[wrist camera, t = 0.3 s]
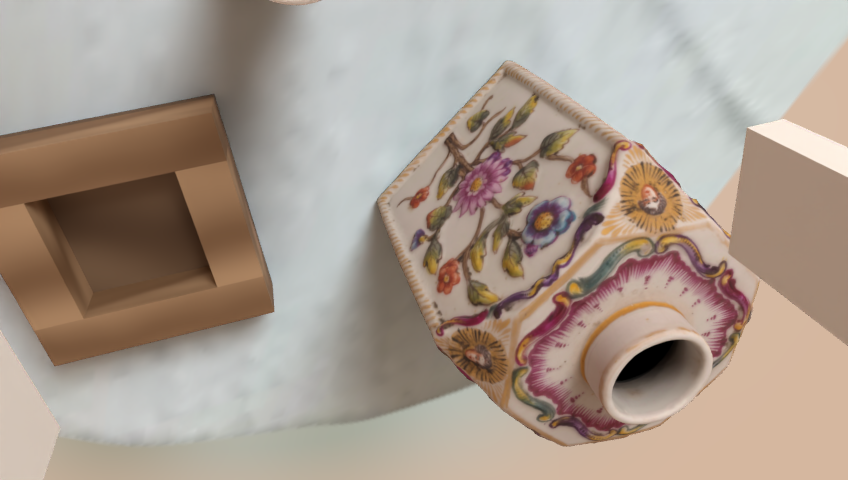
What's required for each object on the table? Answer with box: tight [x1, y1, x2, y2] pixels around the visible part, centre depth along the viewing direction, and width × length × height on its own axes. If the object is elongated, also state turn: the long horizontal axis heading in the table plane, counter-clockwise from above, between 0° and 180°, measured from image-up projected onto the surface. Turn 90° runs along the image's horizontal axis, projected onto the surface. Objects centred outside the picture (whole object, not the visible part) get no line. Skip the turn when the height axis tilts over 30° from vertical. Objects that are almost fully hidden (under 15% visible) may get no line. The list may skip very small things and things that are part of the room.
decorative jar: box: [377, 61, 760, 446], centre depth 32 cm, size 12×12×18 cm
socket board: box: [0, 94, 274, 366], centre depth 33 cm, size 12×12×3 cm
